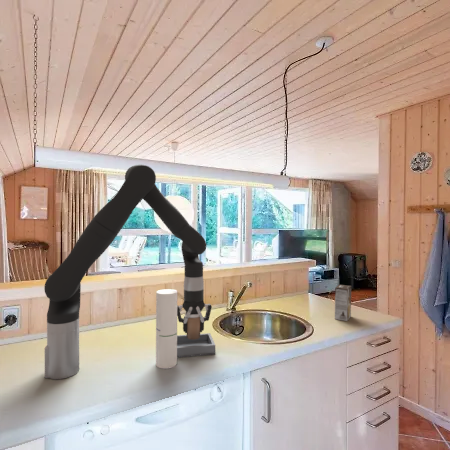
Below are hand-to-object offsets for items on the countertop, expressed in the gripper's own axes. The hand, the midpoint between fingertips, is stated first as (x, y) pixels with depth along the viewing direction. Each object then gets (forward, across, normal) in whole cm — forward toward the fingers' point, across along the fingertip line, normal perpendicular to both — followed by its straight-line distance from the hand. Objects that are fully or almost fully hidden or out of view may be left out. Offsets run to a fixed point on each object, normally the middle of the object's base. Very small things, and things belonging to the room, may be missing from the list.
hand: (193, 331), depth 119 cm
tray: (+7, 0, 0) cm, 7 cm away
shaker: (+2, 0, 0) cm, 2 cm away
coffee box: (+7, +79, +24) cm, 83 cm away
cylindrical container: (+7, -10, -10) cm, 16 cm away
